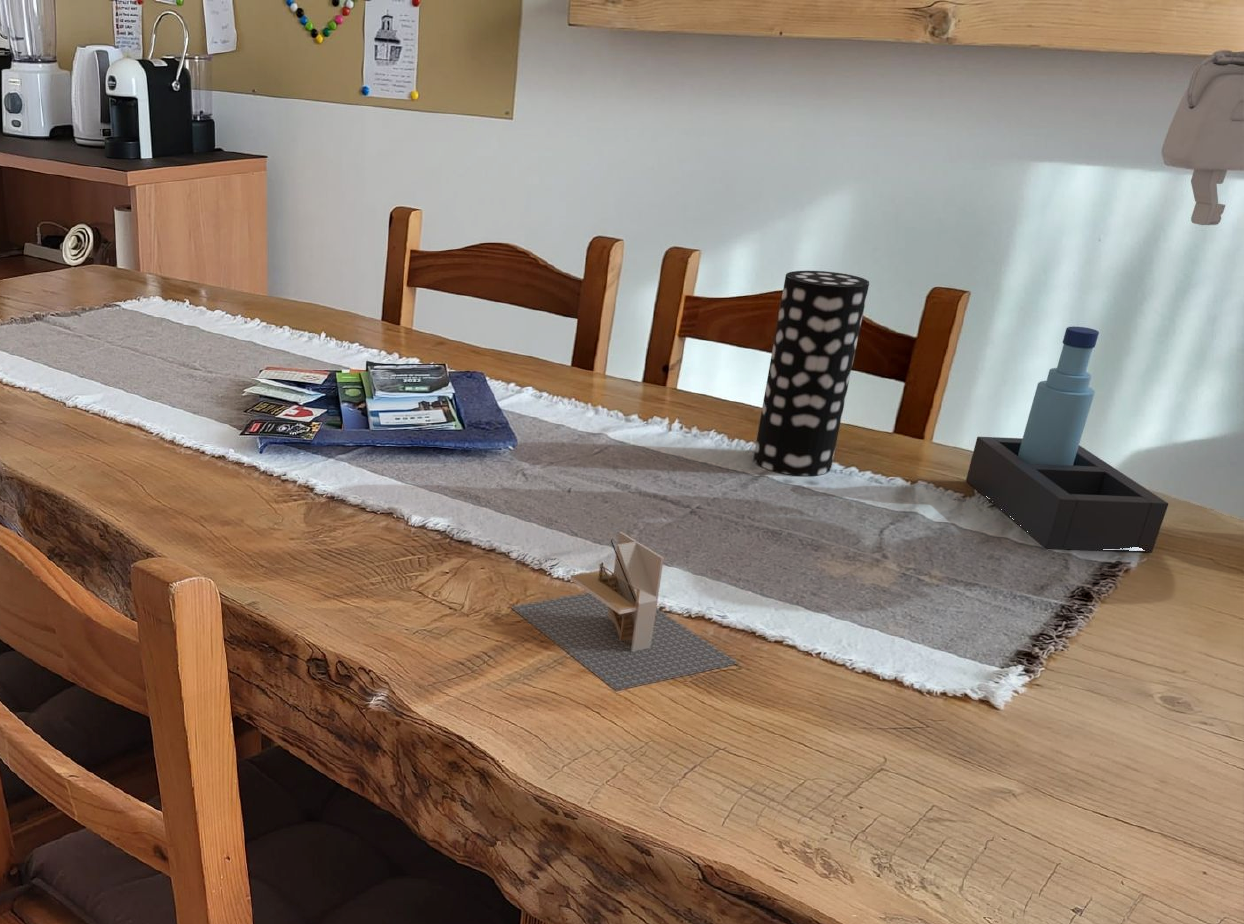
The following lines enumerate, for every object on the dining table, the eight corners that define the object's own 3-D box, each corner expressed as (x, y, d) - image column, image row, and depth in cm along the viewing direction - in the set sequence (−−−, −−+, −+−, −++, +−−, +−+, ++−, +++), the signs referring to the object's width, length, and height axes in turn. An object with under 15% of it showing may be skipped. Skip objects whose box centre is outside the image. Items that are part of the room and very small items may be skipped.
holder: (1058, 484, 135) (1072, 440, 133) (1152, 552, 119) (1169, 503, 116) (965, 480, 135) (977, 436, 133) (1045, 548, 119) (1060, 499, 116)
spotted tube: (846, 468, 137) (886, 282, 128) (796, 480, 133) (834, 289, 124) (787, 446, 143) (820, 268, 134) (737, 457, 139) (768, 274, 130)
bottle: (1046, 492, 133) (1095, 324, 125) (1070, 509, 128) (1122, 337, 120) (998, 490, 133) (1044, 322, 125) (1020, 507, 128) (1069, 335, 120)
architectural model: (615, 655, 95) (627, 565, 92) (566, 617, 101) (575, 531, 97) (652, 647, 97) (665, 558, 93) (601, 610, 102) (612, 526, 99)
